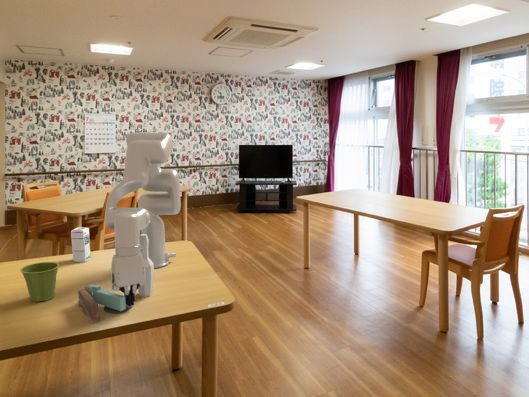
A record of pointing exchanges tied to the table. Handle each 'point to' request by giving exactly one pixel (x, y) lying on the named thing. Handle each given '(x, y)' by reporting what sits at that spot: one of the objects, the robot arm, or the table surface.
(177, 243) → the table surface
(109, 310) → the dark grey disc
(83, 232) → the syrup box
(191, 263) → the table surface
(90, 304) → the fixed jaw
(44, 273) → the plant pot
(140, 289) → the white bottle
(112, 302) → the bar
